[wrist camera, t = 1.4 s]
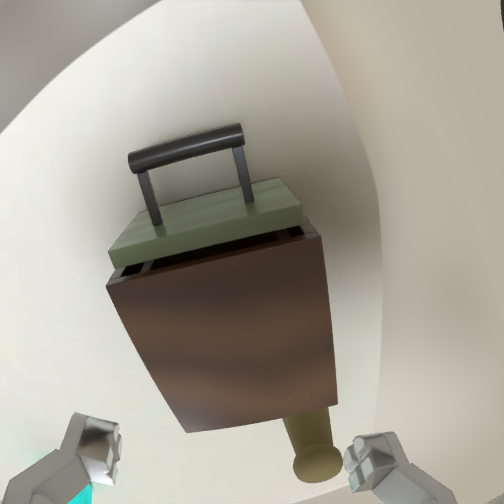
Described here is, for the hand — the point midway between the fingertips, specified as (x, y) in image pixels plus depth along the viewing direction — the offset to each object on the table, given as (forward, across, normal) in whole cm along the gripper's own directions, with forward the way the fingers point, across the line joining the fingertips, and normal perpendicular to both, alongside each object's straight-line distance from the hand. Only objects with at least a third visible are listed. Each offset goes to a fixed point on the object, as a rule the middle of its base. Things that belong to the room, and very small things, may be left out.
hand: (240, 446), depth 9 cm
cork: (+20, -12, +20) cm, 30 cm away
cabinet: (+20, -1, +5) cm, 20 cm away
